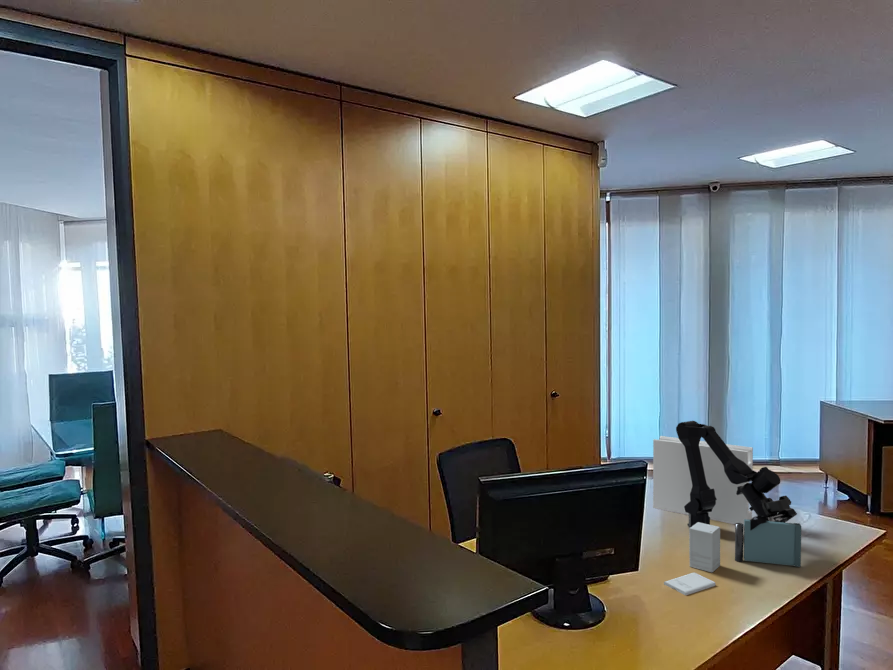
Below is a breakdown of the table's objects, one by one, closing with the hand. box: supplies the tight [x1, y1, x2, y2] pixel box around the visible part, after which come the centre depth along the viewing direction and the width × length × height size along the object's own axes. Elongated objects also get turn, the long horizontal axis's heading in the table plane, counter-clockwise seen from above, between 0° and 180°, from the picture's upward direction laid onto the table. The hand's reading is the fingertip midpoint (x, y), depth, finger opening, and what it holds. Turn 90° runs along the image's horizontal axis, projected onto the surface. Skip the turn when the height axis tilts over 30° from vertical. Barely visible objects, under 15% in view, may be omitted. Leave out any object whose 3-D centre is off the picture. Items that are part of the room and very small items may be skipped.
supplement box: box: [688, 522, 721, 573], centre depth 201 cm, size 7×7×13 cm
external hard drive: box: [663, 572, 716, 596], centre depth 189 cm, size 2×8×12 cm
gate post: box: [734, 523, 744, 563], centre depth 205 cm, size 2×2×12 cm
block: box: [652, 435, 754, 527], centre depth 248 cm, size 35×8×28 cm, turn 51°
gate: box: [743, 519, 802, 568], centre depth 202 cm, size 16×2×13 cm, turn 72°
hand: (787, 544), depth 201 cm, fingers closed
